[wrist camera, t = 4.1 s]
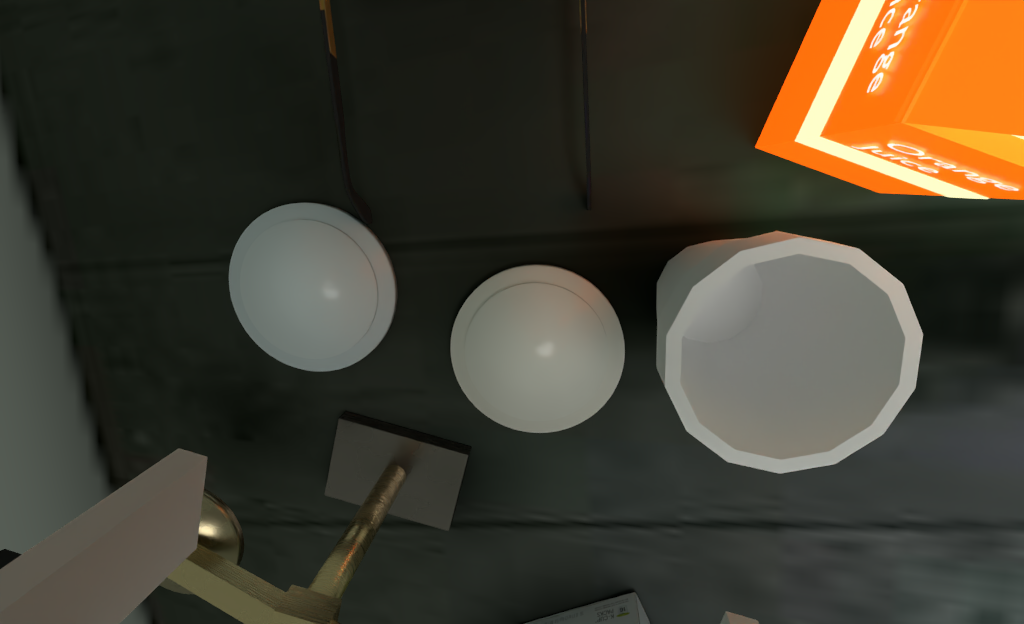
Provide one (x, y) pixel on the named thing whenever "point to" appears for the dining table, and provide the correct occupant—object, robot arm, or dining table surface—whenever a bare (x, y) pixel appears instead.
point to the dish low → (313, 286)
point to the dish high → (537, 348)
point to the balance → (378, 490)
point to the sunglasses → (339, 117)
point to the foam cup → (784, 348)
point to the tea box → (602, 613)
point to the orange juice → (908, 97)
